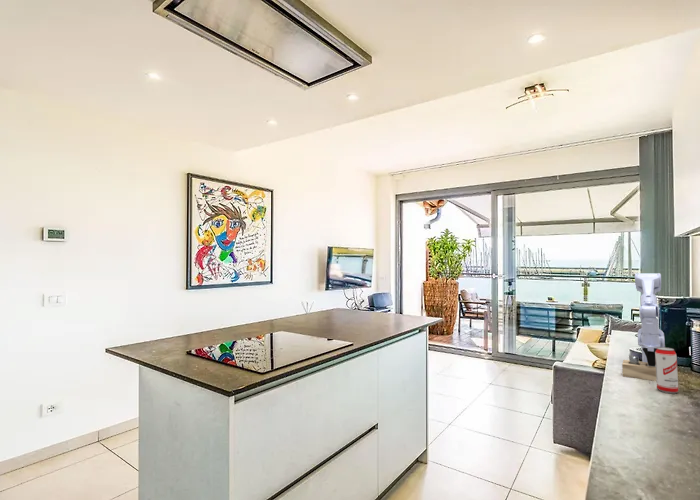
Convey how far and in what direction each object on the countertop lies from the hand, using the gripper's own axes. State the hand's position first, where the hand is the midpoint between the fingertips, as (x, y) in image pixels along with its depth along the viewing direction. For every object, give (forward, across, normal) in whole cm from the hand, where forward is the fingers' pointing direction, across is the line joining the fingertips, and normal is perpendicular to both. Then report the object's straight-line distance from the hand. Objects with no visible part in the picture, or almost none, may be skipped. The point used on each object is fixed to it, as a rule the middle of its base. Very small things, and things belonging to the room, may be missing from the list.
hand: (651, 365), depth 160 cm
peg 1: (+2, 0, -6) cm, 6 cm away
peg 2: (+5, 0, 0) cm, 5 cm away
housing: (+5, 0, -4) cm, 6 cm away
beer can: (+5, +20, +4) cm, 21 cm away
